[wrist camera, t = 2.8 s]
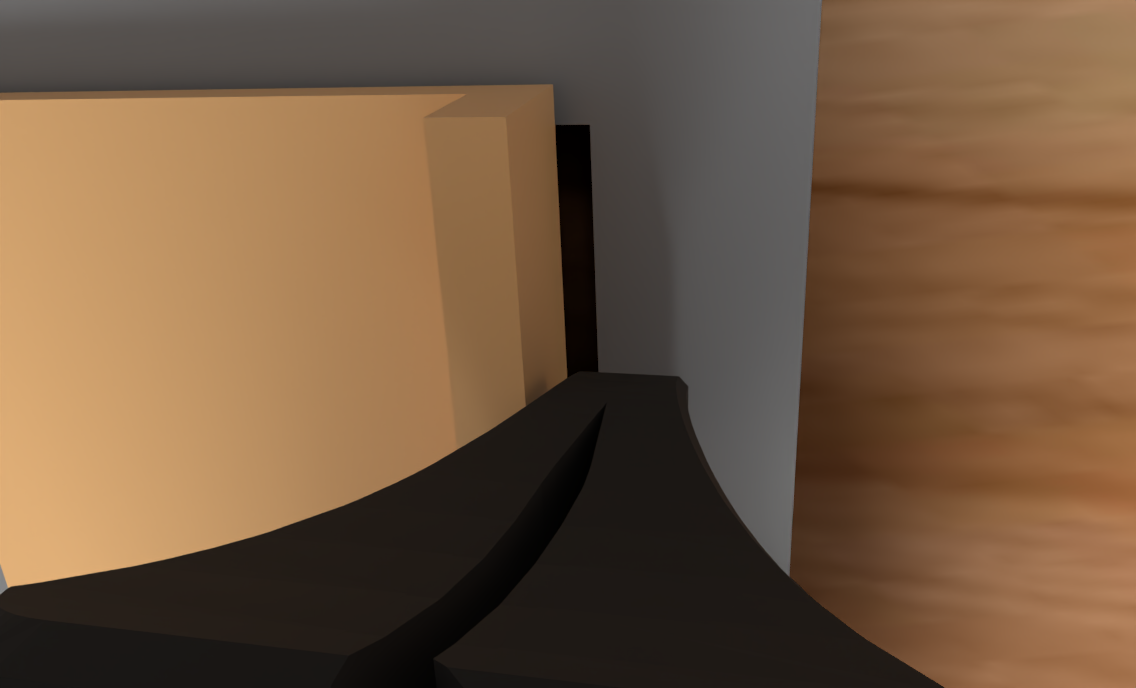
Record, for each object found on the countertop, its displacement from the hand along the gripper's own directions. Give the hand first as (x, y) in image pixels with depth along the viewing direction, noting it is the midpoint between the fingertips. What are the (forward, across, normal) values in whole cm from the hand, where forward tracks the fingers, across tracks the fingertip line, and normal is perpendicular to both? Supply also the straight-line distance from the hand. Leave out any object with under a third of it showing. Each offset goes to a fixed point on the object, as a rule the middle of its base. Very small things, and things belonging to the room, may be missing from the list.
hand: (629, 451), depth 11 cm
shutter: (+1, +5, 0) cm, 5 cm away
